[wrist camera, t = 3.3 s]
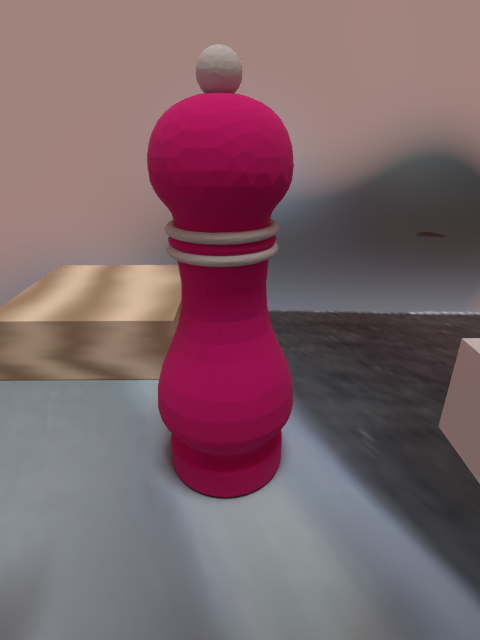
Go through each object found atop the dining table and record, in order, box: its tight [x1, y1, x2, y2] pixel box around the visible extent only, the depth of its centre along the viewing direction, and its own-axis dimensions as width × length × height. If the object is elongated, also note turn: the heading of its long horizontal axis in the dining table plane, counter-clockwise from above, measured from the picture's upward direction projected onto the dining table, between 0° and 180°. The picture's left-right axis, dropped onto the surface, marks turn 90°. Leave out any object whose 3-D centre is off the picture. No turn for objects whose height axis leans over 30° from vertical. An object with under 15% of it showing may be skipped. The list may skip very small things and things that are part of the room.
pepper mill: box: [147, 44, 294, 497], centre depth 19 cm, size 7×7×20 cm
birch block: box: [0, 265, 182, 380], centre depth 35 cm, size 14×14×5 cm
